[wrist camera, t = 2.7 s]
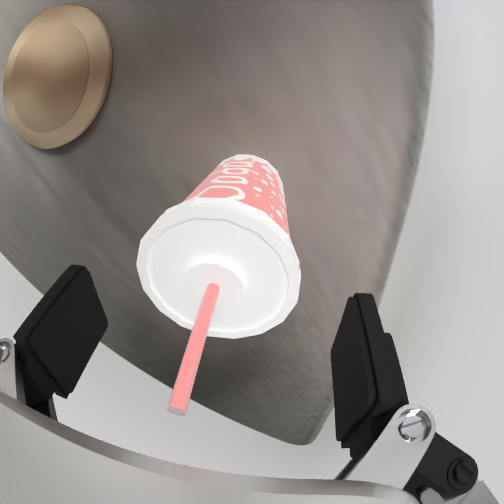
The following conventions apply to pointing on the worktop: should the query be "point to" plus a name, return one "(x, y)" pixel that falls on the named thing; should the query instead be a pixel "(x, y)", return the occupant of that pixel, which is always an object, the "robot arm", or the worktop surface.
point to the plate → (58, 75)
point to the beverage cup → (222, 261)
